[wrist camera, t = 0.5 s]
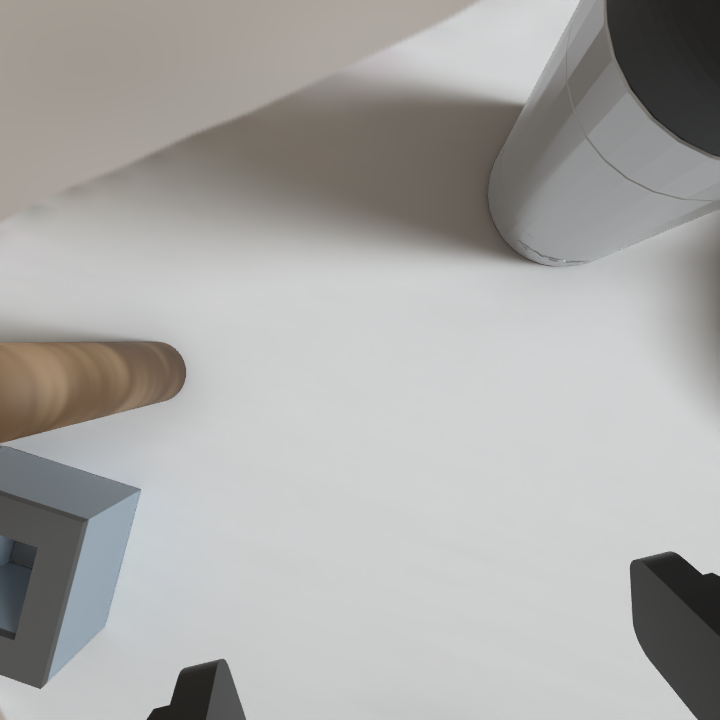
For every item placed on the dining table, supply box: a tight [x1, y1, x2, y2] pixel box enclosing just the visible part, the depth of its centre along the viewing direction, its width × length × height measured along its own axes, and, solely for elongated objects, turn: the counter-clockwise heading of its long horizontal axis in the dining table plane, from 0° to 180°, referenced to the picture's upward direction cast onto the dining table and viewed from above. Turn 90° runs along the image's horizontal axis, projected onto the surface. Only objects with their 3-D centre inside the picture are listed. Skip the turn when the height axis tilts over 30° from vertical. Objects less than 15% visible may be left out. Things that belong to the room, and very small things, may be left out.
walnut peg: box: [0, 342, 186, 443], centre depth 25 cm, size 4×4×14 cm
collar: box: [0, 446, 141, 689], centre depth 30 cm, size 10×10×6 cm
